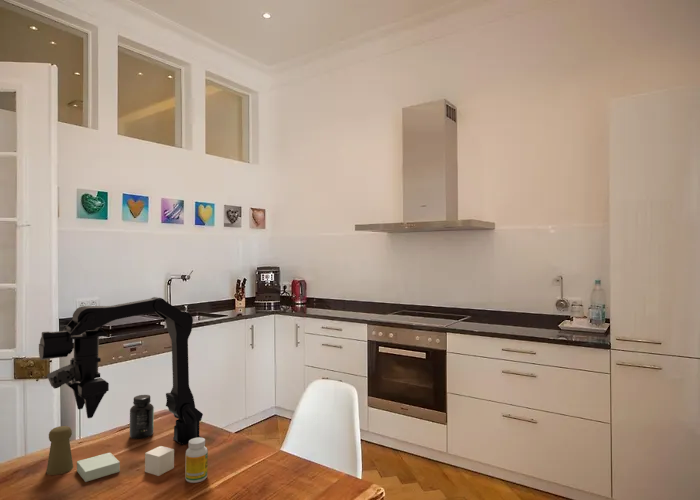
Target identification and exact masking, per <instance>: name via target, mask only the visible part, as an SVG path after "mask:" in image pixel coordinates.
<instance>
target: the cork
mask: <svg viewBox="0 0 700 500" xmlns="http://www.w3.org/2000/svg"><path fill="white" fill-rule="evenodd" d="M72 433H73V430H72V428H71V426H68V425H60V426H56V427H54V428H52V429H50V431H49V433H48V440H49V442H50V446H49V452H48V453H49V454H48V459H47V465H46V471H45V472H46V475H50V476H56V475H62V474H65V473H68V472H70V471H72V469H73V468H74V464H73V456H72V448H71V442H70V441H71V440H70V439H71V437H72V435H73V434H72Z"/></svg>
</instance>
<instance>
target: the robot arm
mask: <svg viewBox="0 0 700 500" xmlns="http://www.w3.org/2000/svg"><path fill="white" fill-rule="evenodd" d="M151 313H155V314H157V315H158V316H159V317H160V318H162V319H163V320H164V321H165V325H166V330H167V332H168V335H169V338H170V340H171V361H172V363H171V365H172V366H171V369H172V387H171V390H170V392H166V393H165V398H166V404H165V407H167V409H168V411H169V412H170V413H171V414H173V417H174V418H175V425H174V426H173V437H172V440H174V441H175V442H177V443H178V444H180V446H183V445H186V444H189V440H191V439H193V438H203V437H202V436H200V422H201V421H202V419H203V416H204V414H203V413H202V412H201V411H200V410H198V409H197V408H196V404H195V403H196V402H195V399H194V394H193V393H192V390H191V387H190V377H189V375H190V373H189V371H190V369H189V339H190V336H191V334H192V330H193V324H194V320H193V316H192V314H191V313H190V312H188V311H184V310H180V309H179V308H177V307H175V306H174V305H172V304H171V303H169V302H168V301H166V300H165V298H162V297H157V296H153V297H150V298H147V299H141V300H136V301H131V302H125V303H119V304H113V305H82V306H79V307H77V308H76V309H75V310H74V311H73V313H72V316H71V317H72V318H71V320H70V321H69V323H67V325H65V327H64V328H63V330H58V331H42V332H41V336H40V340H39V343H38V357H39V359H40V360H41V361H43V360H50V359H58V358H68V356H69V355H70V354H71V353H73V357H72V358H71V359H70V360H69V361H70V362H69V364H68V365H66V366H62V367H60V368H58V369H55V370H53V371H51V372H49V373H48V374H46V377H47V379H48V382H49V384H50V385H51V387H52V388H53V389H58V388H61V387H62V386H64V385H67V386H68V387H69V388H70V389H72V391H73V396H74V399H75V404H76V407H77V409H78V410H82V409H84V406H85V412H86V417H87V419H91V418H93V417H94V416H95V413H96V411H97V409H98V408H99V405H100V404H101V402H102V400H103V398H104V396H105V394H106V393H107V392H108V391H109V385H110V384H109V383H110V382H108V381H106V379H103V378H102V377H101V373H100V372H99V363H101V362H102V361H101V360H102V359H101V358H102V357H100V356H99V351H100V350H99V348H100V347H99V345H100V342H99V341H100V339H99V338H100V337H107V336H108V332H106V331H104V330H103V328H102V327H103V326H105V325H107V324H109V323H111V322H115V321H116V320H120V319H126V318H131V317H136V316H139V315H140V316H141V315H145V314H151Z"/></svg>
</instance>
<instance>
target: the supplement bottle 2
mask: <svg viewBox="0 0 700 500" xmlns="http://www.w3.org/2000/svg"><path fill="white" fill-rule="evenodd" d="M205 445H206V438H204V437H202V438H193V439H191V440H189V443H188V448H187V449H186V450H185V468H184V470H185V474H184V477H185V481H186V482H187V483H191V484H194V483H195V484H196V483H200V482H203V481H205V480H206V479H207V477H208V465H209V464H208V462H209V461H208V460H209V459H208V457H209V456H208V455H209V454H208V453H209V451H208V448H207V447H206V446H205Z"/></svg>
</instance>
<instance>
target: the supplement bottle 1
mask: <svg viewBox="0 0 700 500" xmlns="http://www.w3.org/2000/svg"><path fill="white" fill-rule="evenodd" d="M151 401H152V400H151V395H149V394H139V395H136V396H134V397H133V401H132V404H133V405H132V406H131V407H130V409H129V437H130V438H131V439H133V440H143V439H146V438H150V437H151V436H153V434H154V419H155V414H154V413H155V412H154V411H155V410H154V409H155V407H154V405H153V404H152V403H151Z"/></svg>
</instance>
